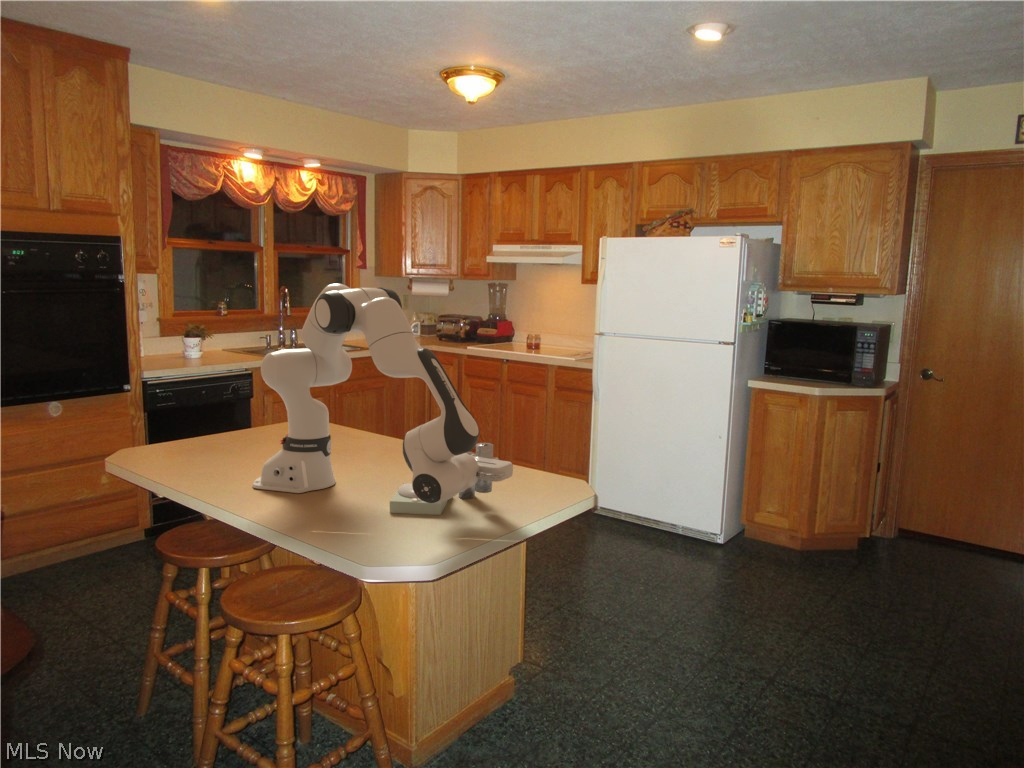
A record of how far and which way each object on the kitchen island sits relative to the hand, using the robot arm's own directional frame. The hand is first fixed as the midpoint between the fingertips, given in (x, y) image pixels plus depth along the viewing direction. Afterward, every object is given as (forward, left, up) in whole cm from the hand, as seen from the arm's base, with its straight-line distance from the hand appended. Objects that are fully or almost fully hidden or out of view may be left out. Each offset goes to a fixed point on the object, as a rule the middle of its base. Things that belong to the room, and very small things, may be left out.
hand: (485, 458), depth 182 cm
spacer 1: (-6, +10, -13) cm, 18 cm away
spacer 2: (0, -1, -8) cm, 8 cm away
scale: (-17, +2, -13) cm, 22 cm away
